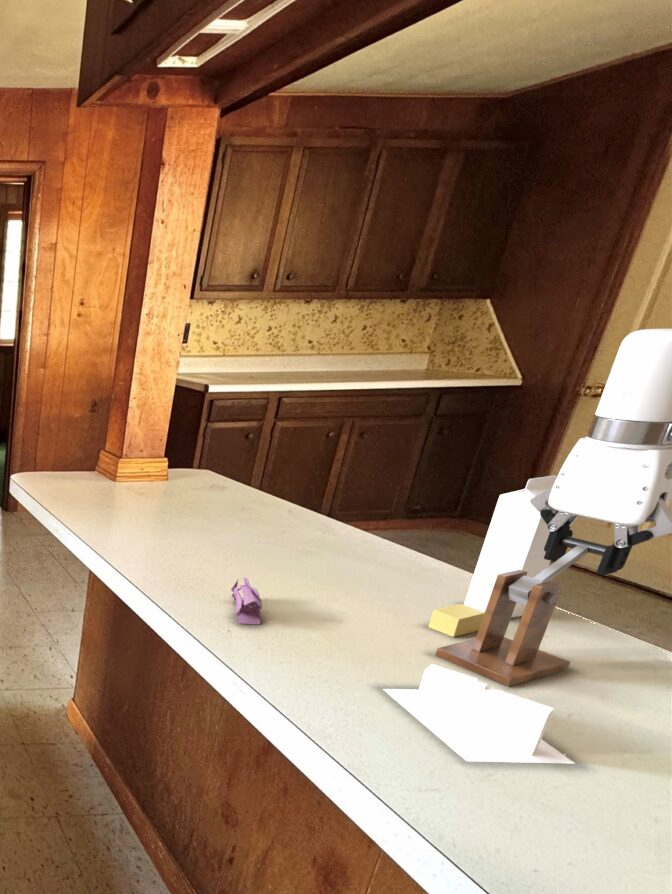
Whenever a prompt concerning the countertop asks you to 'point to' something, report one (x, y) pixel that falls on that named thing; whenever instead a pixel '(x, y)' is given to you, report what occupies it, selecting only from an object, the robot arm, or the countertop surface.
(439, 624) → the butter
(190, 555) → the countertop surface
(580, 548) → the lever
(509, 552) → the milk
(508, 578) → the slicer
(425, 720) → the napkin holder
